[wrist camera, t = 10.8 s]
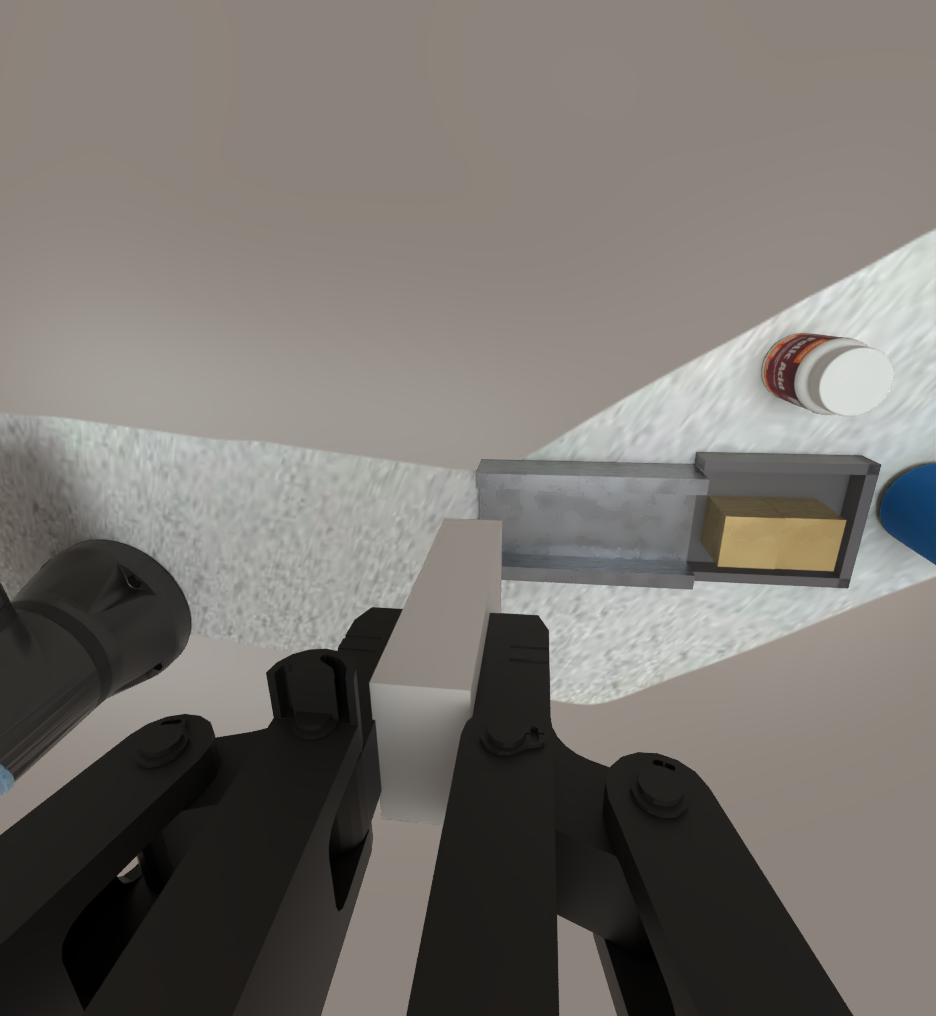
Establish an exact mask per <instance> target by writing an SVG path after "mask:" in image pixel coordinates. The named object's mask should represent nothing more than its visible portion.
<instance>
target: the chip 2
mask: <svg viewBox="0 0 936 1016" xmlns="http://www.w3.org/2000/svg"><path fill="white" fill-rule="evenodd" d="M762 498H763V499H764V500H765V501H766V502H767V503H768V504H769V505H771V506H772V507H773V508H774V509H775V510H776V511H777V512H779V513H780V514H781V515H782V516H783V517H784V518H785V523H784V528H783V532H782V537H781V542H780V546H779V551H778V556H777V561H776V565H775V569H794V570H815V571H834V567H835V563H836V560H837V556H838V552H839V548H840V544H841V540H842V536H843V532H844V528H845V524H846V519H844V518H843V517H841V516H840V515H839V514H837V513H836V512H834V511H833V510H832V509H830V508H829V507H827V506H826V505H825V504H823V503H822V502H820V501H819V500H817V499H814V498H781V497H762Z"/></svg>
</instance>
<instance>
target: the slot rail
mask: <svg viewBox="0 0 936 1016" xmlns="http://www.w3.org/2000/svg"><path fill="white" fill-rule="evenodd" d="M708 486H709V479H708V478H707V477H706V475H705V474H704V473H703V472H702V471H701V470H700V469H699V468H698V467H697V466H696V465H695V464H658V463H616V462H574V461H531V460H488V459H487V460H486V459H485V460H484V459H481V461H480V464H479V467H478V469H477V471H476V488H479V513H480V520H498V521H502V564H501V580H516V581H536V582H556V583H575V584H595V585H614V586H634V587H653V588H673V589H692V590H693V583H694V577H695V576H694V574H693V572H692V570H691V568H690V567H689V565H688V563H687V556H688V549H689V542H690V535H691V528H692V521H693V514H694V508H695V501H696V495H707V492H708Z"/></svg>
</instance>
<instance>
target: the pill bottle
mask: <svg viewBox="0 0 936 1016" xmlns="http://www.w3.org/2000/svg"><path fill="white" fill-rule="evenodd" d="M762 378H763V382H764V384H765V386H766V388H767V389H768V390H769V391H770V392H771V393H772V394H773V395H775V396H777V397H779V398H781V399H783V400H786V401H788V402H790V403H793V404H795V405H798V406H800V407H803V408H805V409H808V410H810V411H812V412H814V413H817V414H822V415H835V414H837V415H841V416H855V415H860V414H863V413H866V412H868V411H870V410H872V409H873V408H875V407H876V406H878V405H879V404H880V403H881V402H882V401H883V400H884V399H885V398H886V396H887V395H888V393H889V392H890V390H891V387H892V385H893V381H894V368H893V365H892V363H891V361H890V359H889V358H888V357H887V356H886V355H885V354H884V353H883V352H881V351H879V350H877V349H874V348H870V347H868V346H867V345H866V344H864V343H862V342H860V341H858V340H855V339H852V338H843V337H834V336H825V335H817V334H808V333H799V334H794V335H791V336H788V337H786V338H784V339H782V340H781V341H779V342H778V343H777V344H775V345H774V346H773V347H772V349H771V350H770V351H769V352H768V354H767V356H766V358H765V360H764V362H763V366H762Z"/></svg>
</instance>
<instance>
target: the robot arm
mask: <svg viewBox="0 0 936 1016" xmlns="http://www.w3.org/2000/svg"><path fill="white" fill-rule="evenodd" d="M501 564H502V521H498V520H472V519H445V518H444V521H443V523H442V525H441V527H440V529H439V532H438V534H437V536H436V538H435V540H434V542H433V545H432V547H431V549H430V551H429V553H428V556H427V558H426V560H425V562H424V564H423V567H422V569H421V571H420V573H419V575H418V577H417V580H416V582H415V584H414V586H413V588H412V591H411V593H410V595H409V597H408V599H407V601H406V604H405V606H404V608H403V609H392V608H376V607H372V608H370V609H369V610H367V611H366V612H365V613H363V614H362V615H361V616H359V617H358V618H357V619H355V620H354V622H353V623H352V625H351V627H350V629H349V630H348V632H347V634H346V637H345V638H344V639H343V640H342V642H341V644H340V645H339V647H338V651H334V650H330V649H313V650H306V651H303V652H299V653H295V654H292V655H290V656H288V657H286V658H284V659H282V660H281V661H279V662H277V663H276V664H275V665H274V666H273V667H272V668H271V669H270V670H268V671H267V672H266V675H267V680H268V687H269V692H270V698H271V704H272V710H273V716H274V718H273V720H272V722H271V723H270V725H269V726H268V728H266V729H262V730H258V731H253V732H248V733H242V734H236V735H230V736H223V737H217V738H215V734H214V731H213V728H212V725H211V723H210V722H209V721H208V720H206V719H204V718H203V717H201V716H197V715H189V714H182V715H175V716H169V717H165V718H163V719H160V720H157V721H154V722H152V723H149V724H147V725H145V726H144V727H142V728H141V729H139V730H137V731H136V732H134V733H132V734H131V735H129V736H128V737H127V738H125V739H124V740H123V741H121V742H120V743H119V744H118V745H116V746H115V747H114V748H112V749H111V750H110V751H108V752H107V753H106V754H105V755H103V756H102V757H101V758H99V759H98V760H97V761H96V762H94V763H93V764H92V765H90V766H89V767H88V768H86V769H85V770H84V771H83V772H81V773H80V774H79V775H77V776H76V777H75V778H74V779H72V780H71V781H70V782H68V783H67V784H66V785H65V786H63V787H62V788H61V789H59V790H58V791H57V792H56V793H54V794H53V795H52V796H50V797H49V798H48V799H46V800H45V801H44V802H42V803H41V804H40V805H39V806H37V807H36V808H35V809H33V810H32V811H31V812H30V813H28V814H27V815H26V816H25V817H23V818H22V819H21V820H20V821H18V822H17V823H15V824H14V825H13V826H11V827H10V828H9V829H8V830H6V831H5V832H4V833H3V834H1V835H0V1016H321V1013H322V1010H323V1007H324V1004H325V1001H326V997H327V994H328V991H329V987H330V984H331V981H332V978H333V975H334V971H335V968H336V965H337V962H338V958H339V955H340V952H341V949H342V945H343V942H344V939H345V936H346V932H347V929H348V926H349V922H350V920H351V916H352V913H353V910H354V907H355V904H356V900H357V897H358V894H359V890H360V887H361V884H362V881H363V878H364V874H365V871H366V868H367V865H368V861H369V858H370V855H371V851H372V842H373V833H372V824H371V821H372V818H373V815H374V812H375V809H376V806H377V803H378V800H379V797H380V806H381V816H382V819H386V820H395V821H405V822H414V823H423V824H432V825H441V826H443V829H442V834H441V839H440V844H439V850H438V855H437V860H436V865H435V871H434V875H433V881H432V886H431V891H430V896H429V901H428V906H427V912H426V917H425V922H424V927H423V932H422V938H421V943H420V948H419V953H418V958H417V963H416V968H415V974H414V979H413V984H412V989H411V995H410V999H409V1005H408V1010H407V1016H559V991H558V990H559V989H558V988H559V987H558V946H557V945H558V941H557V915H559V916H561V917H563V918H565V919H567V920H569V921H571V922H573V923H575V924H577V925H579V926H582V927H583V928H585V929H587V930H589V931H591V932H593V936H594V940H595V943H596V946H597V950H598V953H599V956H600V960H601V963H602V966H603V970H604V973H605V977H606V979H607V983H608V987H609V990H610V993H611V997H612V1000H613V1003H614V1006H615V1010H616V1013H617V1016H853V1015H852V1013H851V1012H850V1010H849V1009H848V1007H847V1005H846V1003H845V1002H844V1000H843V999H842V997H841V996H840V994H839V992H838V991H837V989H836V988H835V986H834V984H833V983H832V981H831V980H830V978H829V977H828V975H827V973H826V972H825V970H824V969H823V967H822V965H821V964H820V962H819V961H818V959H817V958H816V956H815V954H814V953H813V952H812V950H811V948H810V946H809V945H808V943H807V942H806V940H805V939H804V937H803V935H802V934H801V932H800V931H799V929H798V927H797V926H796V924H795V923H794V921H793V920H792V918H791V916H790V915H789V913H788V912H787V910H786V908H785V907H784V905H783V904H782V902H781V901H780V899H779V897H778V896H777V894H776V893H775V891H774V890H773V888H772V886H771V885H770V884H769V882H768V880H767V878H766V877H765V875H764V874H763V872H762V870H761V869H760V867H759V866H758V864H757V863H756V861H755V859H754V858H753V856H752V855H751V853H750V852H749V850H748V848H747V847H746V845H745V844H744V842H743V840H742V839H741V837H740V836H739V834H738V833H737V831H736V829H735V828H734V826H733V825H732V823H731V821H730V820H729V818H728V817H727V815H726V814H725V812H724V810H723V809H722V807H721V806H720V804H719V802H718V801H717V799H716V798H715V796H714V795H713V793H712V791H711V790H710V788H709V787H708V786H707V785H706V783H705V782H704V781H703V780H702V779H701V778H700V777H699V776H698V774H697V773H696V772H695V771H693V770H692V769H690V768H689V767H687V766H686V765H684V764H682V763H681V762H679V761H678V760H675V759H672V758H669V757H667V756H664V755H661V754H658V753H642V752H637V753H634V754H630V755H627V756H623V757H621V758H620V759H619V760H618V761H616V762H615V763H614V764H613V765H612V766H611V767H607V766H604V765H601V764H599V763H596V762H593V761H591V760H588V759H586V758H584V757H582V756H580V755H578V754H576V753H575V752H573V751H572V750H570V749H569V748H568V747H566V746H565V745H564V744H563V743H562V741H561V740H560V739H559V738H558V737H557V735H556V733H555V731H554V729H553V728H552V723H551V718H550V668H549V630H548V629H547V627H546V626H545V624H544V623H543V621H542V620H541V619H540V617H539V616H538V615H522V614H505V613H501ZM190 629H191V621H190V614H189V610H188V606H187V603H186V601H185V598H184V596H183V594H182V592H181V590H180V589H179V587H178V586H177V584H176V583H175V581H174V580H173V579H172V577H171V576H170V575H169V574H168V573H167V572H166V571H165V570H164V569H163V568H162V567H161V566H160V565H159V564H158V563H157V562H155V561H154V560H153V559H151V558H150V557H148V556H147V555H145V554H144V553H142V552H140V551H138V550H136V549H134V548H132V547H130V546H127V545H124V544H121V543H117V542H113V541H106V540H91V541H86V542H82V543H79V544H76V545H74V546H72V547H70V548H68V549H66V550H64V551H62V552H61V553H59V554H57V555H55V556H54V557H52V558H51V559H50V560H48V561H47V562H46V563H45V564H44V565H43V566H42V568H41V569H40V570H39V572H38V573H37V574H36V575H35V576H34V577H33V578H32V579H31V580H30V581H29V582H28V583H27V584H26V585H25V586H24V587H23V589H22V590H21V591H20V592H19V593H18V594H17V595H16V596H15V597H14V598H13V600H12V601H11V602H10V600H9V598H8V596H7V594H6V592H5V590H4V589H3V587H2V585H1V583H0V796H1V795H3V794H4V793H7V792H8V791H9V790H10V789H11V788H12V787H13V785H14V783H15V782H16V781H17V780H18V779H19V778H20V777H21V776H22V775H23V774H25V773H26V772H27V771H28V770H29V769H30V768H31V767H32V766H33V765H34V764H35V763H36V762H38V760H40V759H41V758H42V757H43V756H44V755H45V754H46V753H47V752H48V751H50V750H51V749H52V748H53V747H54V746H55V745H56V744H57V743H58V742H59V741H60V740H61V739H63V738H64V737H65V736H66V735H67V734H68V733H69V732H70V731H71V730H72V729H74V728H75V727H76V726H77V725H78V724H79V723H80V722H81V721H82V720H83V719H84V718H86V716H88V715H89V714H90V713H91V712H92V711H93V710H94V709H95V708H96V707H97V706H98V705H100V704H101V703H102V702H103V701H104V700H105V699H107V698H109V697H111V696H113V695H115V694H118V693H120V692H122V691H124V690H126V689H128V688H131V687H133V686H135V685H137V684H139V683H141V682H143V681H146V680H148V679H150V678H152V677H154V676H156V675H158V674H159V673H161V672H162V671H163V670H164V669H166V668H167V667H168V666H169V665H170V664H171V663H172V662H173V661H174V660H175V659H176V658H177V657H178V656H179V655H180V654H181V653H182V651H183V650H184V649H185V647H186V645H187V643H188V639H189V636H190ZM136 856H137V859H138V862H139V863H138V864H137V865H136V866H135V867H134V868H133V869H132V870H131V871H129V872H128V873H126V874H125V875H124V876H121V877H117V875H118V874H119V873H120V872H121V871H122V870H123V869H124V868H125V867H126V866H127V865H128V864H129V863H130V862H131V861H132V860H133V859H134V858H135V857H136Z"/></svg>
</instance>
